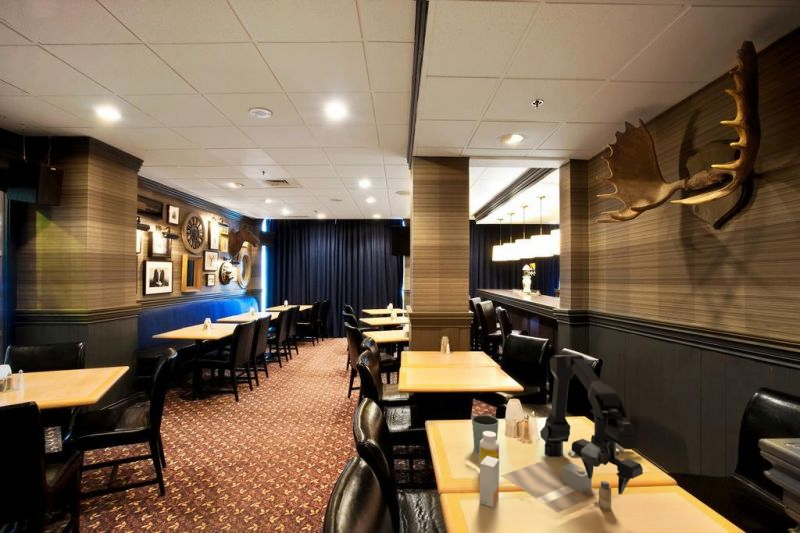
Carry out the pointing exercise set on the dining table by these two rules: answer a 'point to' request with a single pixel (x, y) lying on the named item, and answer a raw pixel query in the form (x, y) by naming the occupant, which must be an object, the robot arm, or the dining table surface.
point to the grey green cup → (483, 428)
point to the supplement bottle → (489, 446)
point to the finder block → (576, 478)
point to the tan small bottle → (605, 496)
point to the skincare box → (489, 481)
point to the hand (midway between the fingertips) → (604, 485)
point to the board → (547, 486)
